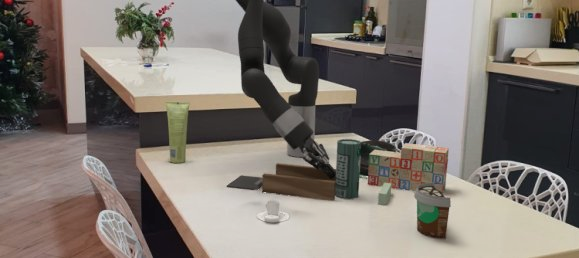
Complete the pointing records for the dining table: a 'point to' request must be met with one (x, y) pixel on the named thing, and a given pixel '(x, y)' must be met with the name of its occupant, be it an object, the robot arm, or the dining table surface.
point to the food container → (432, 211)
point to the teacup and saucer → (272, 212)
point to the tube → (177, 130)
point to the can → (347, 168)
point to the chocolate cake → (367, 149)
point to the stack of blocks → (409, 167)
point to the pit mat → (246, 183)
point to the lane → (299, 182)
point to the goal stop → (384, 193)
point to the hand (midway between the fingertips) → (334, 176)
